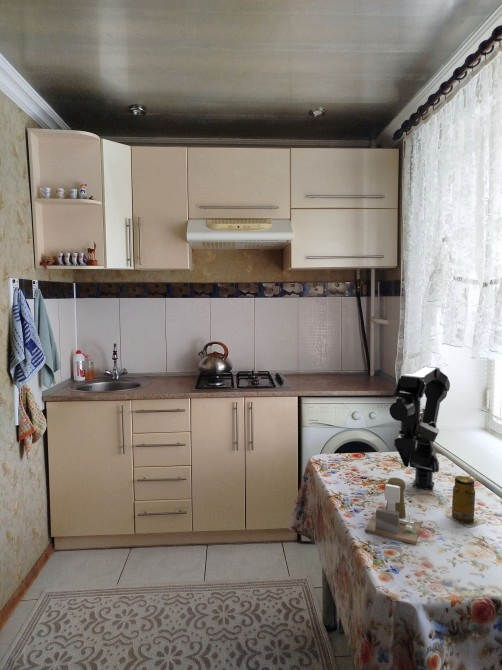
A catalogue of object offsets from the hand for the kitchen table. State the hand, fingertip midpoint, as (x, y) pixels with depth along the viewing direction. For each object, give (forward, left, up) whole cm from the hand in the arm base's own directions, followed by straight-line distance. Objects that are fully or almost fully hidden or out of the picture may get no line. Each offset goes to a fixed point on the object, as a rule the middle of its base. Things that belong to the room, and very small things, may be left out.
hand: (408, 461), depth 145 cm
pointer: (+20, +4, -12) cm, 24 cm away
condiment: (+4, +17, -13) cm, 22 cm away
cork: (+11, -2, -13) cm, 17 cm away
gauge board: (+20, -1, -13) cm, 24 cm away
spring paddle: (+17, 0, -12) cm, 21 cm away
